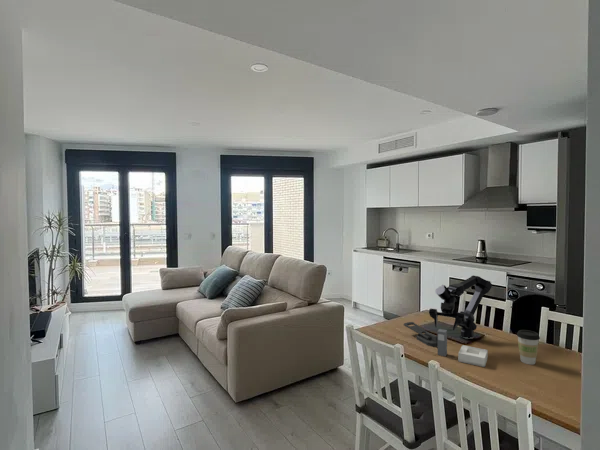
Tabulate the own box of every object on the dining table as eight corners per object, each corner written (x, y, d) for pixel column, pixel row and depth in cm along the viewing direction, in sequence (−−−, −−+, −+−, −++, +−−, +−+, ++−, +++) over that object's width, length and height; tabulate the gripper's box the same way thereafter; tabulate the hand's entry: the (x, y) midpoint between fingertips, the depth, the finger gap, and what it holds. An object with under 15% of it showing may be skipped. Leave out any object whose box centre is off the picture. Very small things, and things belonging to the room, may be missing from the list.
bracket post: (439, 352, 187) (439, 328, 186) (447, 353, 184) (447, 330, 184) (437, 355, 183) (437, 331, 182) (445, 356, 180) (445, 332, 180)
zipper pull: (412, 321, 219) (443, 333, 197) (412, 331, 220) (443, 344, 197) (401, 323, 216) (431, 336, 193) (401, 333, 216) (432, 347, 193)
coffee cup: (512, 359, 175) (512, 331, 175) (524, 356, 179) (524, 328, 179) (531, 367, 166) (531, 337, 166) (544, 363, 170) (544, 334, 170)
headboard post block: (462, 353, 185) (462, 345, 184) (487, 358, 178) (487, 349, 177) (458, 361, 175) (458, 352, 175) (484, 367, 168) (484, 358, 168)
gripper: (429, 294, 197) (424, 318, 189) (464, 298, 187) (460, 324, 178) (433, 304, 204) (428, 328, 196) (467, 309, 193) (463, 334, 185)
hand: (444, 328), depth 188 cm, fingers open, 9 cm apart
